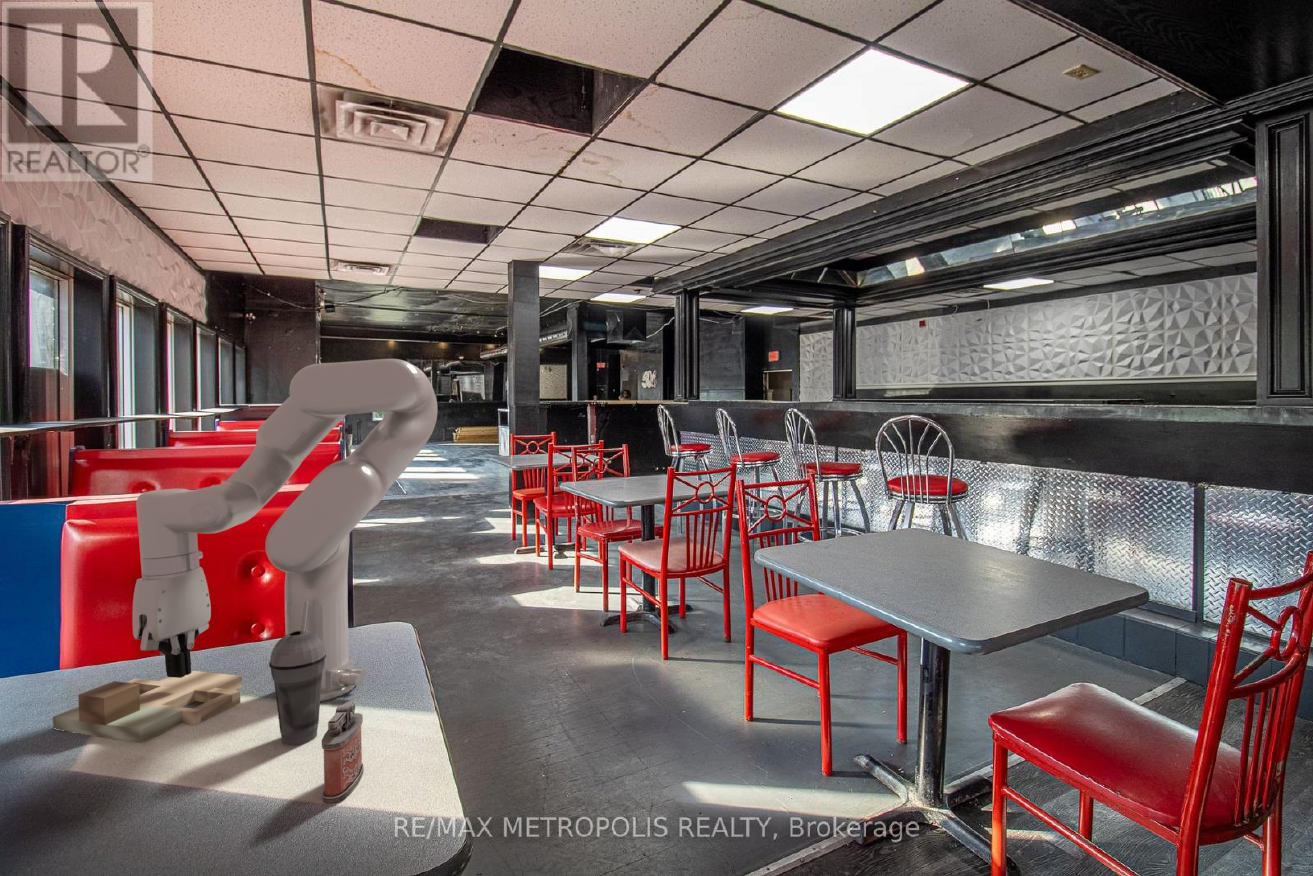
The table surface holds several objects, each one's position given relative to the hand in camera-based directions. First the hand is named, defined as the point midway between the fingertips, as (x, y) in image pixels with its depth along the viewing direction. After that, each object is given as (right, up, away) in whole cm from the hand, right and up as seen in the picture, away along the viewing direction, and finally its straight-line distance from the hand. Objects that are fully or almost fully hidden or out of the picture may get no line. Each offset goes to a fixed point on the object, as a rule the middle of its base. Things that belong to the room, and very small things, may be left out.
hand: (179, 675), depth 105 cm
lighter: (+39, -5, -24) cm, 46 cm away
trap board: (-2, -5, -2) cm, 5 cm away
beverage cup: (+26, -5, -12) cm, 29 cm away
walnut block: (-4, -3, -9) cm, 10 cm away
